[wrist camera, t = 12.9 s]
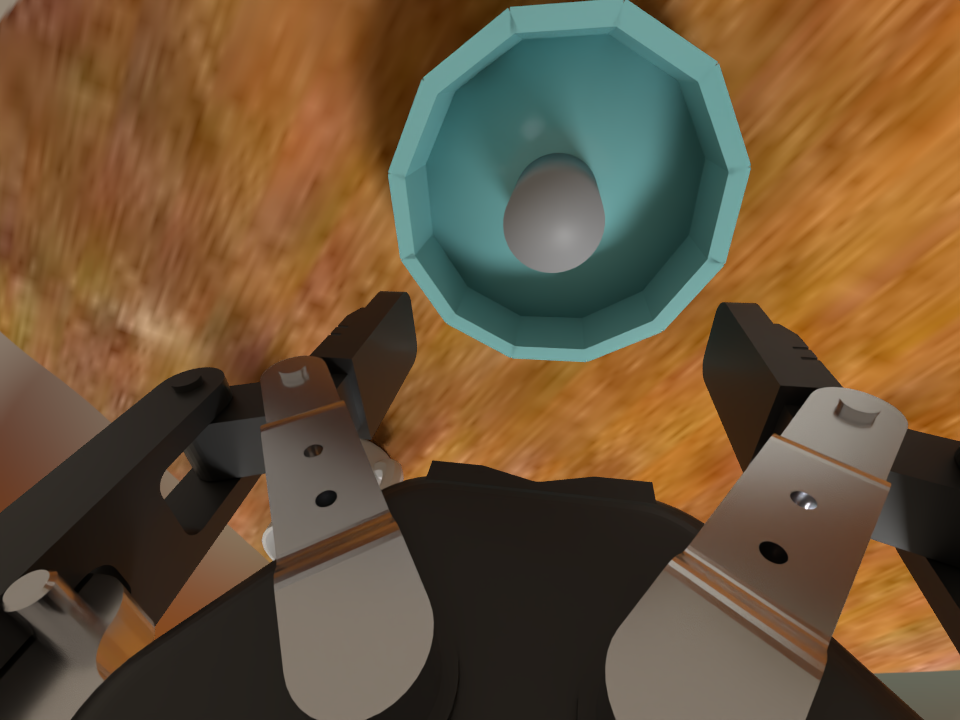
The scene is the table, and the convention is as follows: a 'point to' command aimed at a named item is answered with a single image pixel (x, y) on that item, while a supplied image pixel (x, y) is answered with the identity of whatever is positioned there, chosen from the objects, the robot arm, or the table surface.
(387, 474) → the cup
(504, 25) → the bowl
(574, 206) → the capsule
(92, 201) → the table surface
